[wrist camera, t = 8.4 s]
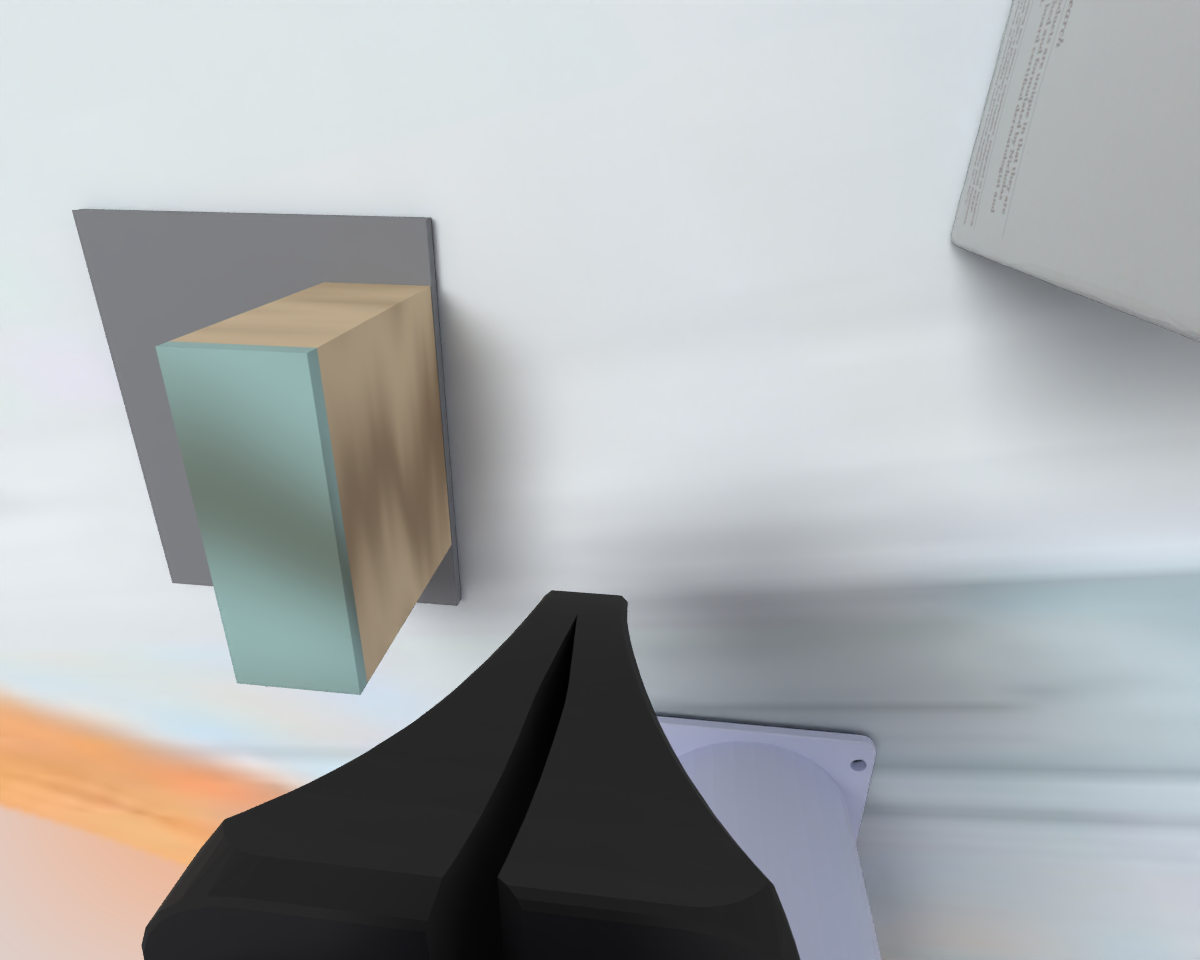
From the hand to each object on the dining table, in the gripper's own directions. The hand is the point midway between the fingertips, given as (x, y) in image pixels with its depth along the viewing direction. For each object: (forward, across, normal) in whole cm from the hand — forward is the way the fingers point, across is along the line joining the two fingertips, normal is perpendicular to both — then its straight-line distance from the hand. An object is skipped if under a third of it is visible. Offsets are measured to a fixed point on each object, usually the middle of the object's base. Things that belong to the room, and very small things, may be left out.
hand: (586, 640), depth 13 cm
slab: (+9, +7, 0) cm, 12 cm away
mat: (+10, +10, 0) cm, 14 cm away
